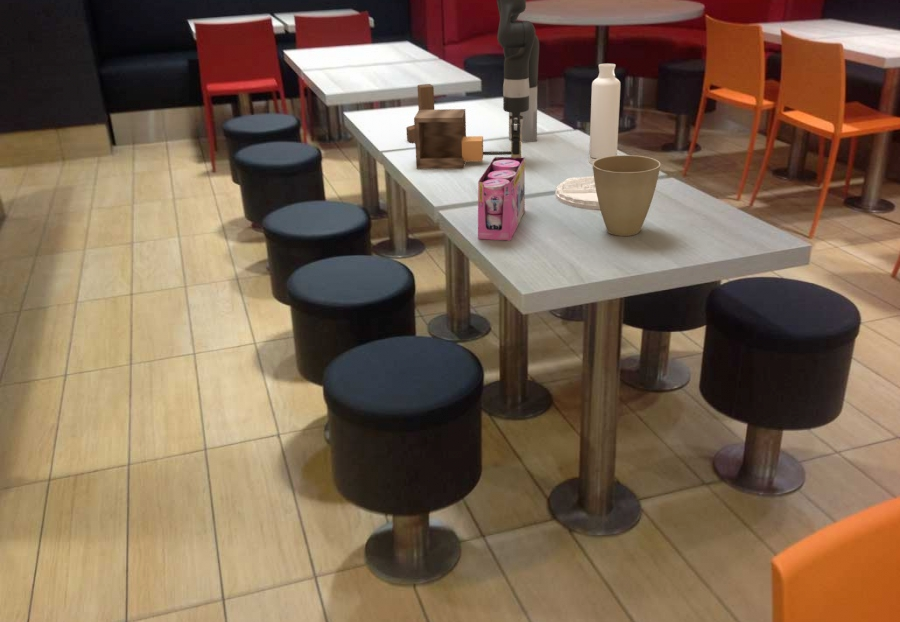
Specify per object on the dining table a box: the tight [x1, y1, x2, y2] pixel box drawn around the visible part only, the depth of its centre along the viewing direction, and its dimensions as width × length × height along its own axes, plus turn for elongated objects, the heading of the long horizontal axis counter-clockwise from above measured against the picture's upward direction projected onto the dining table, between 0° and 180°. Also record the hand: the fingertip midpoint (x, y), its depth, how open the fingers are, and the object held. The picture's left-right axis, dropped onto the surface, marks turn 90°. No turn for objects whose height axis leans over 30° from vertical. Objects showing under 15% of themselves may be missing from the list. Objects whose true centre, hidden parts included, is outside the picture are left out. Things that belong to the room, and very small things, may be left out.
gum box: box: [477, 156, 526, 241], centre depth 196 cm, size 24×8×14 cm, turn 167°
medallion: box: [554, 175, 601, 211], centre depth 219 cm, size 24×27×2 cm
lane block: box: [462, 134, 522, 162], centre depth 248 cm, size 18×6×9 cm, turn 85°
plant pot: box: [591, 154, 661, 237], centre depth 189 cm, size 15×15×16 cm
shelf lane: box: [413, 108, 467, 170], centre depth 249 cm, size 14×12×15 cm
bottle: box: [588, 63, 621, 165], centre depth 242 cm, size 8×8×28 cm
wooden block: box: [405, 83, 435, 144], centre depth 277 cm, size 9×4×18 cm, turn 106°
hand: (516, 152), depth 249 cm, fingers closed on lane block, 3 cm apart
